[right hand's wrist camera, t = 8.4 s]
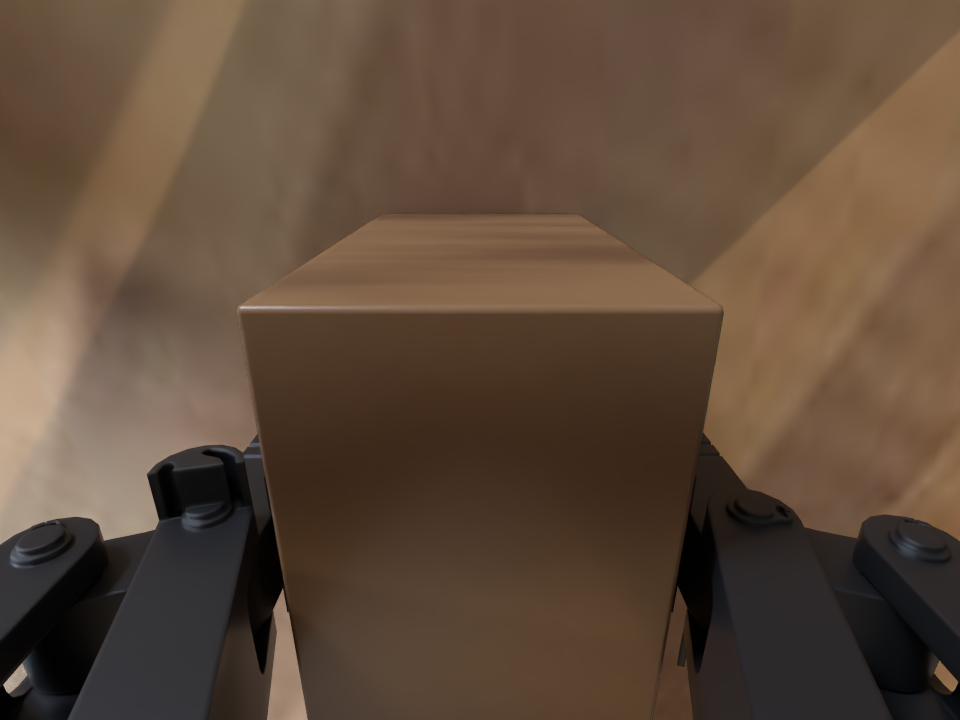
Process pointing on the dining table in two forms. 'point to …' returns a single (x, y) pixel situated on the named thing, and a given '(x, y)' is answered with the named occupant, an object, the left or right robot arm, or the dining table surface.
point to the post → (480, 465)
